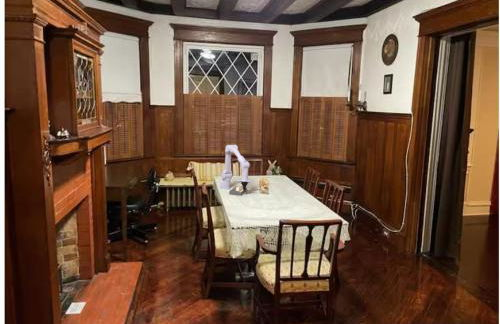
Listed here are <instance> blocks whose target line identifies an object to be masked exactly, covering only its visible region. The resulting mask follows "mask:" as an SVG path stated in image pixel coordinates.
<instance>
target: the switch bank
mask: <svg viewBox="0 0 500 324" xmlns="http://www.w3.org/2000/svg"><path fill="white" fill-rule="evenodd" d="M238 186H239V185H237V186H234V187H232V188H231V189H229V191H228V193H229V195H232V196H240V197H241V196H242V195H244V194H245V193H246V192H248V191H247V190H248V187H247V186H246V189H245V190H243V188H242V189H240V191H236V187H238Z"/></svg>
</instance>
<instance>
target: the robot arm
mask: <svg viewBox="0 0 500 324" xmlns="http://www.w3.org/2000/svg"><path fill="white" fill-rule="evenodd" d="M224 148H225V150H224V153H225V158H224V169H223V170H221V174H220V175H221V176H220V177H221V179H220V183H219V189H220V190H232V189H233V187H231V180H232V178H233V171H232V170H231V165H232V164H231V162H232V161H231V160H232V154H234V155H235V156H236V157H237V161H238V163H239V164H240V170H241V178H240V179H236V182H237V183H240V184H242V186H243V190H245V189H246V187H247V186H248V183H249V184H253V182H254V180H250V179H249V168H250V165H251V164H250V162H249V161H247V160H246V159H245V157H244V156H243V155H242V154H241V153H240V151H239V147H238V145H237V144H227V145H226V146H225V147H224Z"/></svg>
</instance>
